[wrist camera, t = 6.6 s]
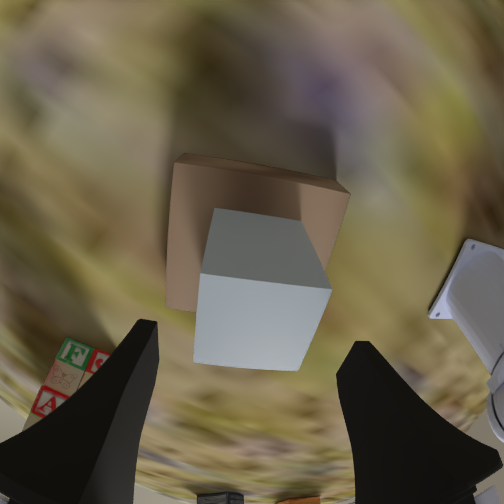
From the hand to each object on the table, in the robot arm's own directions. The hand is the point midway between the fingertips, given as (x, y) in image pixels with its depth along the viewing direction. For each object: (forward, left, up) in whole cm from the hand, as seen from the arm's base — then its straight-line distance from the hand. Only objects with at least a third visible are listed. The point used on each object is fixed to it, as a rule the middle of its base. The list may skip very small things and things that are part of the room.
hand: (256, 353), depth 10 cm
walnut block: (0, 0, -10) cm, 10 cm away
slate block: (0, 0, -7) cm, 7 cm away
